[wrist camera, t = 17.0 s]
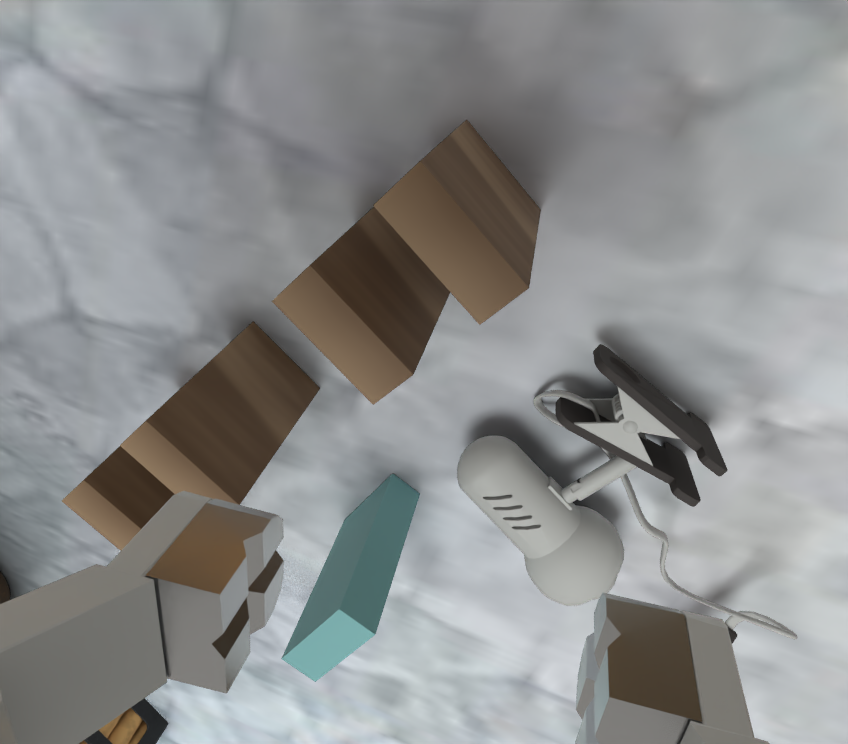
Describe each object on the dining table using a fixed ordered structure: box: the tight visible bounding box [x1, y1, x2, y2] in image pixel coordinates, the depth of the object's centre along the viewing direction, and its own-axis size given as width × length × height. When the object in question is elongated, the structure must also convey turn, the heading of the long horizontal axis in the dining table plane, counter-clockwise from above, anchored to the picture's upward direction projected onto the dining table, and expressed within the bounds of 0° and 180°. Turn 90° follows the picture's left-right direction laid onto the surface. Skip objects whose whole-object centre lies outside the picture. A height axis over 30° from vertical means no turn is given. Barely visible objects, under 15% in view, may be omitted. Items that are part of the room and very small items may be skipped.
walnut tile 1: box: [373, 120, 541, 325], centre depth 24 cm, size 2×5×10 cm, turn 43°
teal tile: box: [282, 473, 420, 682], centre depth 34 cm, size 2×5×10 cm, turn 142°
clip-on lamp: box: [457, 344, 797, 643], centre depth 32 cm, size 12×6×18 cm
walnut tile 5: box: [62, 446, 175, 550], centre depth 33 cm, size 2×5×10 cm, turn 43°
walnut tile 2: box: [272, 207, 450, 405], centre depth 26 cm, size 2×5×10 cm, turn 43°
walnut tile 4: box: [120, 322, 320, 505], centre depth 31 cm, size 2×5×10 cm, turn 43°
